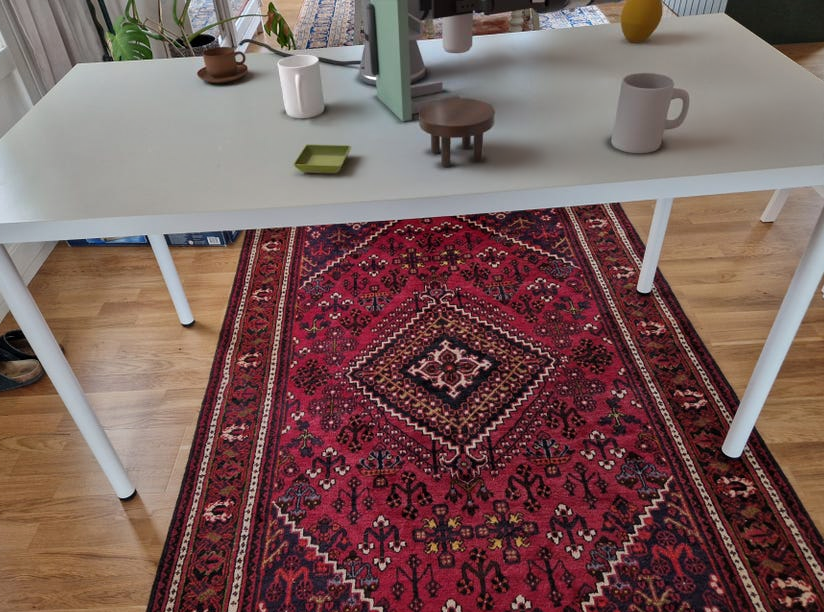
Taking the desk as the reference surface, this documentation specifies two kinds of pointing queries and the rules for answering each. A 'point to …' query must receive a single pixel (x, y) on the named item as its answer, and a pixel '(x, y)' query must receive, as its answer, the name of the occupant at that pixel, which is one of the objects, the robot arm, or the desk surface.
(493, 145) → the desk surface
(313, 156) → the green square dish
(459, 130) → the stool
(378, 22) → the mint green upright panel
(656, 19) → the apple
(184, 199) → the desk surface
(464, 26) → the beverage can
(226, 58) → the cup and saucer
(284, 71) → the cup
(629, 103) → the mug
